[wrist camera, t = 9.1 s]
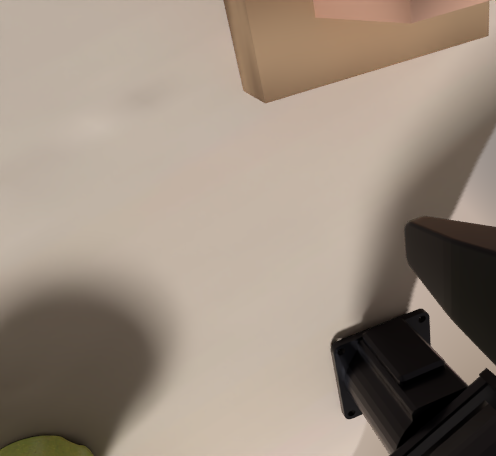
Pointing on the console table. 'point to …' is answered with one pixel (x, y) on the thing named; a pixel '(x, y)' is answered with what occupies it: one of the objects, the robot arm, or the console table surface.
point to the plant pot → (45, 447)
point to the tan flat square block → (332, 43)
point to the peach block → (388, 9)
